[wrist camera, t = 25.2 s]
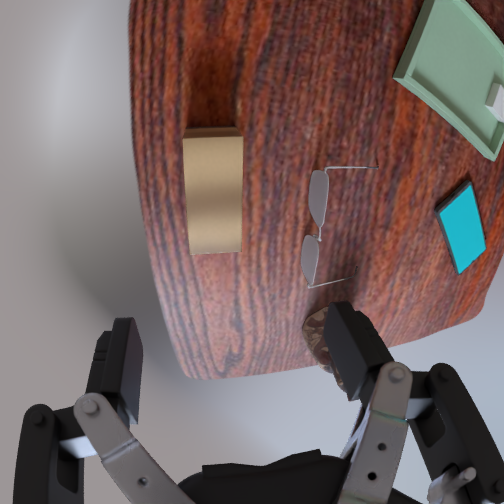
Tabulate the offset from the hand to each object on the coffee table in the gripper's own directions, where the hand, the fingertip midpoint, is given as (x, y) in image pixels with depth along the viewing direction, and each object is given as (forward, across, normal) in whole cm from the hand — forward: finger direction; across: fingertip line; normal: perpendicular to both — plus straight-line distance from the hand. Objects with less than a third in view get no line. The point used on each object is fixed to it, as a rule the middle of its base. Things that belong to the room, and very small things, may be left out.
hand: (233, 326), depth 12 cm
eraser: (+20, 0, 0) cm, 20 cm away
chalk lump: (+20, -37, -13) cm, 43 cm away
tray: (+20, -30, -15) cm, 39 cm away
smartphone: (+20, -36, +7) cm, 42 cm away
